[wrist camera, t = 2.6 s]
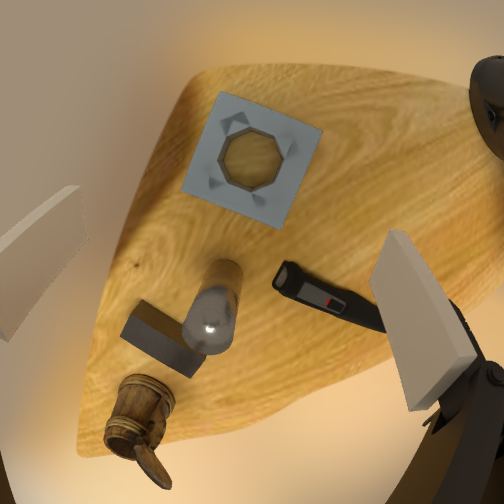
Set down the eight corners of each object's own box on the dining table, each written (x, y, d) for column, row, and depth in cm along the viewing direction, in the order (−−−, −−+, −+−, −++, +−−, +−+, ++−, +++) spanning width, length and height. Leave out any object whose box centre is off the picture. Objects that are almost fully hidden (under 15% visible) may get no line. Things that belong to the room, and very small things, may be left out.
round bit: (248, 267, 33) (240, 323, 22) (235, 297, 35) (223, 361, 23) (214, 254, 33) (190, 304, 22) (203, 285, 34) (176, 343, 23)
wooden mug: (211, 402, 40) (190, 506, 23) (144, 418, 42) (110, 503, 25) (176, 359, 38) (135, 466, 21) (110, 381, 40) (61, 465, 23)
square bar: (210, 340, 37) (205, 359, 33) (196, 359, 38) (190, 378, 34) (142, 298, 35) (130, 313, 32) (131, 320, 36) (119, 336, 33)
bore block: (315, 135, 29) (323, 131, 25) (278, 221, 32) (280, 230, 28) (225, 99, 28) (220, 90, 24) (190, 186, 31) (180, 190, 27)
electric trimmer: (374, 331, 36) (382, 344, 33) (269, 284, 34) (270, 296, 31) (390, 307, 35) (400, 319, 32) (285, 256, 33) (288, 266, 30)
